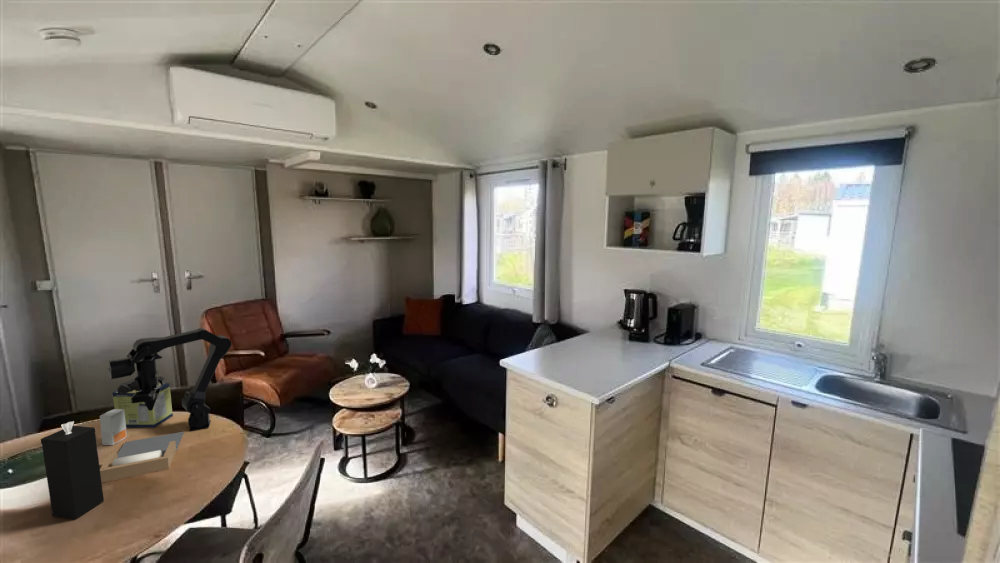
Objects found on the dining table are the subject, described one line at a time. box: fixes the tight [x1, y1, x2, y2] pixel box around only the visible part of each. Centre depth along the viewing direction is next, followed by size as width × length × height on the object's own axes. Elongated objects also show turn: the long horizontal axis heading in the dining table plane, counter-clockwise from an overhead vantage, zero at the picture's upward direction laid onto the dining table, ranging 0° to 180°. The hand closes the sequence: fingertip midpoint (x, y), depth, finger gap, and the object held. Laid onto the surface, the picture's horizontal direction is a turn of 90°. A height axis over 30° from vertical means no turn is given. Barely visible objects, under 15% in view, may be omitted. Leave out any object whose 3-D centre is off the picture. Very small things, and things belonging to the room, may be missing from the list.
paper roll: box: [112, 450, 162, 466], centre depth 141 cm, size 12×5×5 cm, turn 119°
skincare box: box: [99, 409, 128, 446], centre depth 157 cm, size 6×4×12 cm
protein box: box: [112, 382, 174, 429], centre depth 171 cm, size 10×16×16 cm
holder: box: [100, 431, 185, 484], centre depth 149 cm, size 18×26×4 cm
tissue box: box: [40, 420, 105, 520], centre depth 120 cm, size 8×8×28 cm
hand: (150, 410), depth 156 cm, fingers closed
